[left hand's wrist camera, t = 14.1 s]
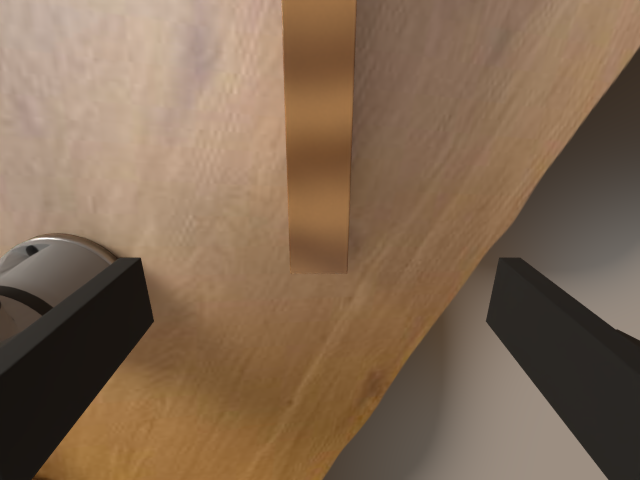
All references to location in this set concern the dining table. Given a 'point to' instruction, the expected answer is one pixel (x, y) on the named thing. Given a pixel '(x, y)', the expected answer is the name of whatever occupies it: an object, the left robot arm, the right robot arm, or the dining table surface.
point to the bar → (318, 130)
